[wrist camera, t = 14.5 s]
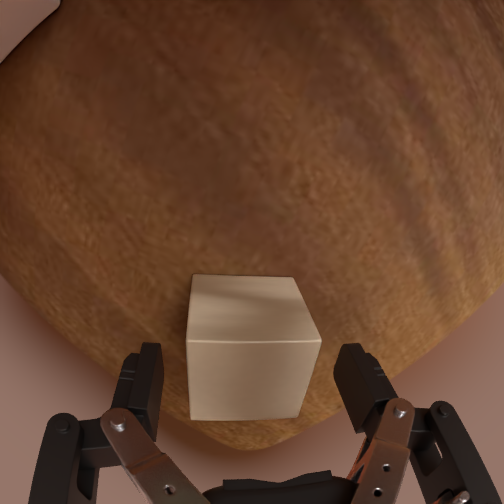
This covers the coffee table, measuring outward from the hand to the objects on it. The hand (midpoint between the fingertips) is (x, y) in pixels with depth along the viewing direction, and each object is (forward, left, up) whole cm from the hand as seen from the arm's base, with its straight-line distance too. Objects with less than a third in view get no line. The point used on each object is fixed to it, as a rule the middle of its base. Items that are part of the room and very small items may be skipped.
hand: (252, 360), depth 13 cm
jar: (-14, +17, -4) cm, 23 cm away
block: (0, 0, -4) cm, 4 cm away
